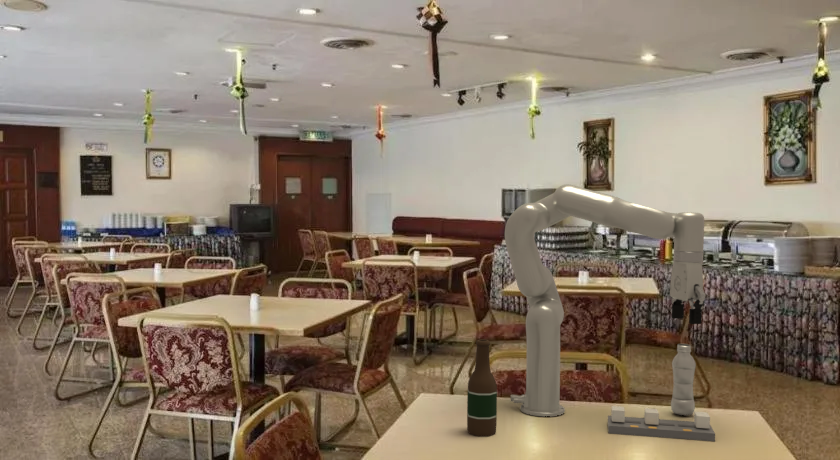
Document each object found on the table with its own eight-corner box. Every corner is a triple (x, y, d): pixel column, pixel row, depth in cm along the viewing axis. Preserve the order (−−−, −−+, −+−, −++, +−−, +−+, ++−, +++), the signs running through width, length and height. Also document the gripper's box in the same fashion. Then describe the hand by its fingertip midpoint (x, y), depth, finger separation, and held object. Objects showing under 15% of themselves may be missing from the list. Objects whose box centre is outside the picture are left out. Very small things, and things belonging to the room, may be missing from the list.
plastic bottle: (691, 412, 214) (692, 343, 213) (697, 418, 207) (699, 347, 207) (668, 411, 214) (669, 342, 214) (673, 417, 208) (675, 346, 207)
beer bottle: (499, 430, 194) (501, 338, 193) (492, 438, 187) (494, 343, 186) (470, 426, 196) (472, 336, 196) (462, 435, 189) (464, 341, 189)
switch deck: (608, 433, 192) (608, 425, 192) (607, 422, 202) (607, 415, 202) (715, 441, 186) (715, 433, 186) (708, 430, 196) (709, 422, 196)
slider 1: (611, 421, 195) (612, 410, 195) (611, 416, 199) (611, 405, 199) (624, 422, 194) (624, 410, 194) (623, 417, 198) (623, 406, 198)
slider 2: (645, 423, 193) (645, 412, 193) (644, 419, 197) (644, 408, 197) (658, 424, 192) (658, 413, 192) (657, 420, 196) (657, 408, 196)
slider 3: (696, 427, 190) (696, 416, 190) (694, 422, 194) (694, 411, 194) (709, 428, 189) (709, 416, 189) (707, 423, 193) (707, 412, 193)
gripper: (660, 255, 208) (658, 316, 209) (690, 260, 191) (688, 326, 192) (685, 256, 209) (683, 316, 210) (718, 260, 192) (715, 326, 193)
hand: (686, 321), depth 201 cm, fingers open, 9 cm apart
